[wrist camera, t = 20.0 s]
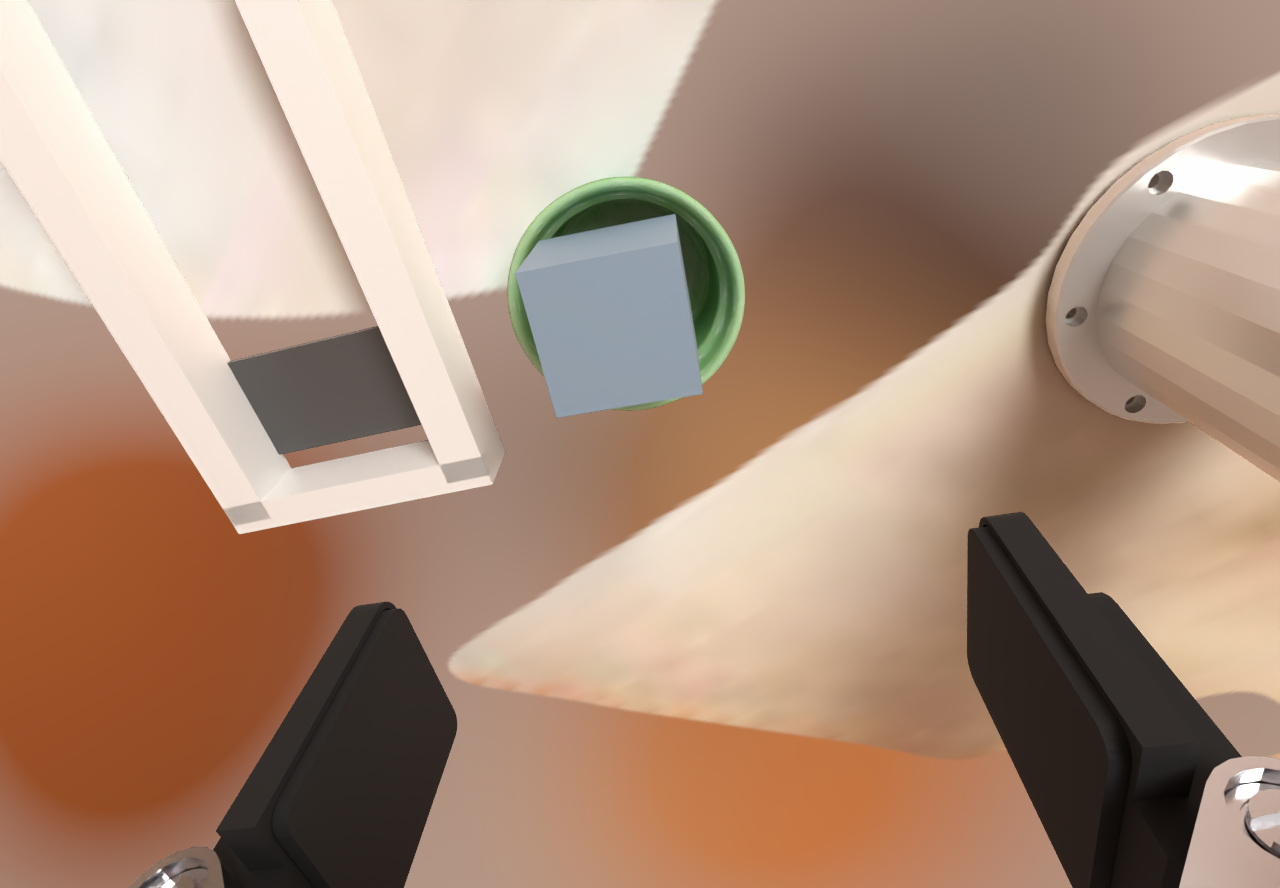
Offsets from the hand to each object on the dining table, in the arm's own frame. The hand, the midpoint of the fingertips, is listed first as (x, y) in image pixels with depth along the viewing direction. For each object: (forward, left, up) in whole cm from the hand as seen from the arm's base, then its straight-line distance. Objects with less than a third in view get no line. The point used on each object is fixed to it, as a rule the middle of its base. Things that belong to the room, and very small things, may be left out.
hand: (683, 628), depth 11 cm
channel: (+16, -5, -21) cm, 27 cm away
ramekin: (+2, -1, -21) cm, 21 cm away
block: (+2, -1, -17) cm, 17 cm away
